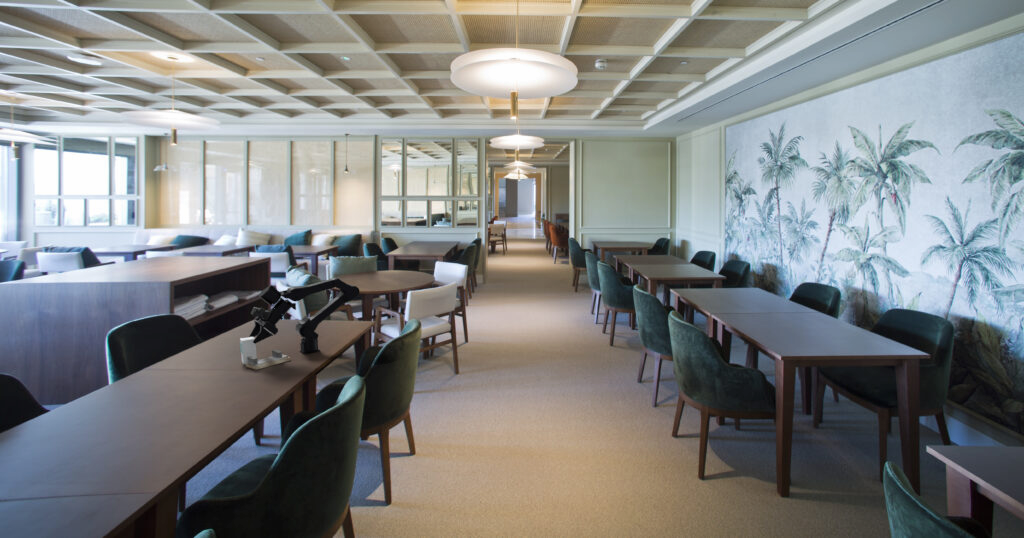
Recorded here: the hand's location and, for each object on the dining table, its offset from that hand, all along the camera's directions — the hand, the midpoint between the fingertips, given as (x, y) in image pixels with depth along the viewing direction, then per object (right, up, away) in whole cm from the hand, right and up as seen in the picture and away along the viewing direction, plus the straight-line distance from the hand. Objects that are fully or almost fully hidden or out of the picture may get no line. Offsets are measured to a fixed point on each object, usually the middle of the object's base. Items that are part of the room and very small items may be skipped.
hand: (251, 340), depth 215 cm
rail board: (+8, -9, -2) cm, 12 cm away
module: (-1, -9, 0) cm, 9 cm away
